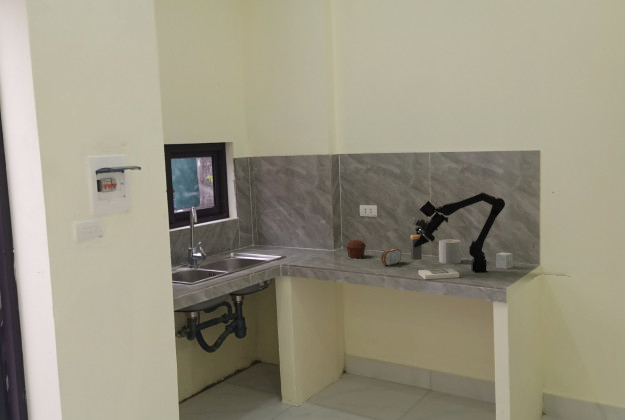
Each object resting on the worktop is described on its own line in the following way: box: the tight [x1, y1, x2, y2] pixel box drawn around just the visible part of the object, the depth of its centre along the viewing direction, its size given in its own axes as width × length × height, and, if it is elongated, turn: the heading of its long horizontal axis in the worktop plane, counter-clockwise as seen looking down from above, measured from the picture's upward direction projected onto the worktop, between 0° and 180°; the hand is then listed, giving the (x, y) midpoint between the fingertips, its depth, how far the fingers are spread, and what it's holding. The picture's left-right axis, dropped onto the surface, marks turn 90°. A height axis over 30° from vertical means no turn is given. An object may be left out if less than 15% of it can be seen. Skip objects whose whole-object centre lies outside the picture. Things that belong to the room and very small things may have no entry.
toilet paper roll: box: [438, 238, 462, 265], centre depth 346 cm, size 12×12×12 cm
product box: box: [495, 251, 514, 270], centre depth 326 cm, size 6×6×7 cm
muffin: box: [345, 239, 367, 259], centre depth 371 cm, size 12×11×10 cm
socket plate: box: [418, 268, 460, 280], centre depth 313 cm, size 17×12×2 cm
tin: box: [380, 247, 402, 266], centre depth 346 cm, size 15×3×8 cm, turn 134°
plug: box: [409, 234, 423, 261], centre depth 322 cm, size 4×4×12 cm
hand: (413, 246), depth 322 cm, fingers closed on plug, 4 cm apart
